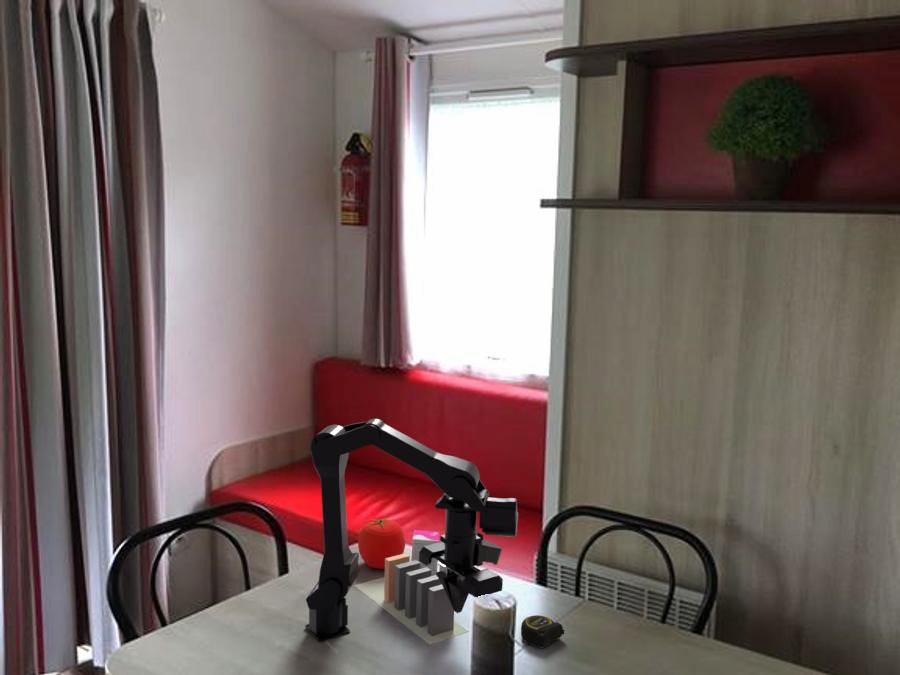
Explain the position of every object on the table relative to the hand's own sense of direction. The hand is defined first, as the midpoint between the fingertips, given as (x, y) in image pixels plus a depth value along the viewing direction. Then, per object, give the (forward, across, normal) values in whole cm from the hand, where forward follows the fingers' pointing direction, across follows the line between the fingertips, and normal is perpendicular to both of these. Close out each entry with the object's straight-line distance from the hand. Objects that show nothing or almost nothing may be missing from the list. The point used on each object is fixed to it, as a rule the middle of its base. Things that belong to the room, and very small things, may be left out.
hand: (457, 611), depth 149 cm
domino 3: (+6, +13, 0) cm, 15 cm away
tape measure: (+7, -8, -14) cm, 18 cm away
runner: (+6, +17, 0) cm, 18 cm away
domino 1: (+6, +21, 0) cm, 22 cm away
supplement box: (+7, +23, -8) cm, 26 cm away
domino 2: (+6, +17, 0) cm, 19 cm away
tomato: (+7, +37, -6) cm, 38 cm away
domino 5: (+6, +5, 0) cm, 8 cm away
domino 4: (+6, +9, 0) cm, 11 cm away
